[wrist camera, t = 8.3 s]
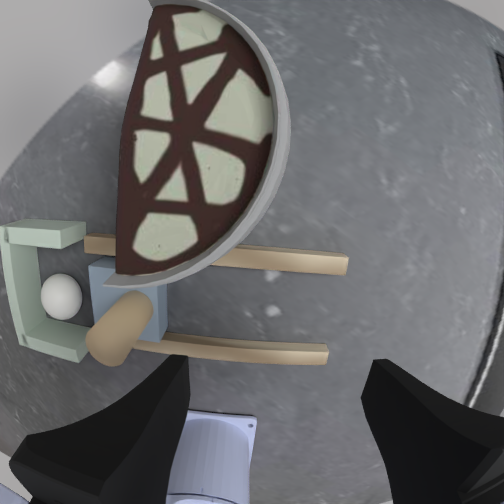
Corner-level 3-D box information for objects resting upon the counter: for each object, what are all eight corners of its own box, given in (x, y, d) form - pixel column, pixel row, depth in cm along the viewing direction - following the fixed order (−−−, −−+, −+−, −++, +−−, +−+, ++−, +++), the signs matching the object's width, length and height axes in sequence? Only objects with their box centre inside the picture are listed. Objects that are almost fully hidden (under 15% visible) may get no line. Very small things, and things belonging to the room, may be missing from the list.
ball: (75, 296, 22) (95, 311, 20) (44, 317, 19) (62, 335, 17) (62, 260, 20) (82, 272, 18) (28, 281, 17) (43, 296, 16)
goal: (97, 340, 22) (78, 363, 18) (40, 326, 21) (19, 344, 18) (86, 221, 19) (60, 230, 16) (25, 218, 19) (-2, 226, 16)
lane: (322, 356, 22) (325, 364, 21) (100, 333, 21) (94, 340, 20) (343, 253, 20) (348, 257, 19) (91, 232, 19) (83, 236, 18)
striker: (167, 326, 21) (136, 389, 14) (108, 317, 21) (62, 370, 14) (167, 262, 20) (126, 308, 13) (103, 256, 20) (45, 293, 13)
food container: (259, 253, 20) (268, 325, 10) (169, 241, 20) (103, 299, 10) (285, 73, 17) (315, -9, 7) (193, 64, 17) (149, -17, 7)
